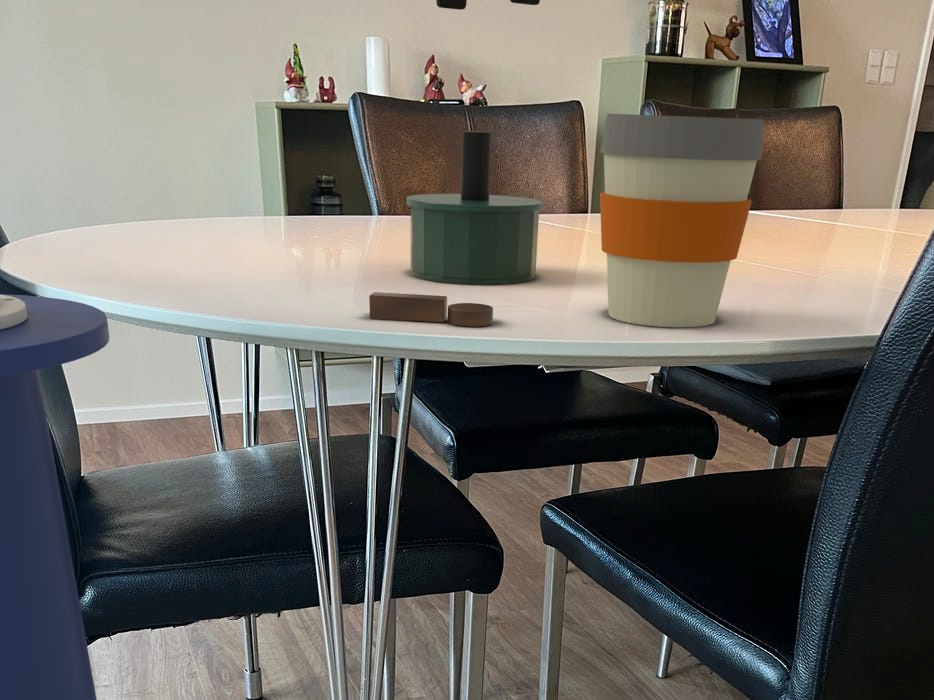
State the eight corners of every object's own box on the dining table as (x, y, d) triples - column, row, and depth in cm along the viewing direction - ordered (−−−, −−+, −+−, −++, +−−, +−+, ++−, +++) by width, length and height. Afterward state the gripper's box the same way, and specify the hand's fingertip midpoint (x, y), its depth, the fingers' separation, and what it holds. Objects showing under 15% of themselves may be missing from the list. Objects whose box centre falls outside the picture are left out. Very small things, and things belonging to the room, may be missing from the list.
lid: (526, 222, 92) (531, 135, 88) (387, 214, 95) (386, 129, 91) (554, 211, 103) (559, 133, 100) (429, 203, 106) (430, 128, 103)
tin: (519, 288, 95) (523, 214, 92) (394, 279, 98) (394, 207, 95) (545, 271, 106) (549, 204, 103) (432, 263, 108) (432, 198, 105)
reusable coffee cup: (598, 329, 78) (617, 113, 71) (577, 302, 89) (592, 113, 82) (755, 333, 79) (789, 120, 72) (715, 305, 90) (741, 118, 83)
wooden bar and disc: (366, 320, 78) (366, 297, 77) (376, 312, 81) (376, 289, 81) (489, 327, 77) (490, 304, 76) (495, 319, 80) (495, 296, 80)
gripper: (391, -231, 84) (394, 7, 93) (534, -277, 73) (523, -2, 81) (458, -212, 89) (455, 13, 97) (602, -253, 78) (585, 5, 86)
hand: (486, 6), depth 89 cm, fingers open, 9 cm apart
